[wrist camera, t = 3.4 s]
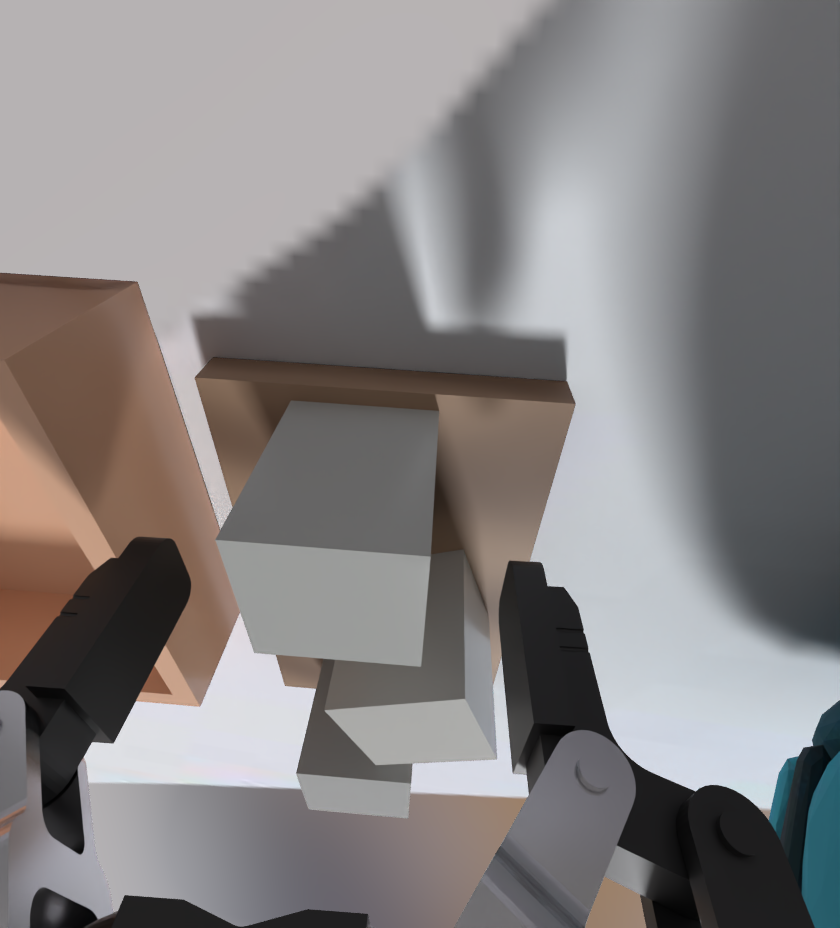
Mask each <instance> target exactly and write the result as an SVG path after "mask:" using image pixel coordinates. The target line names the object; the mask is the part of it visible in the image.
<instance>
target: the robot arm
mask: <svg viewBox="0 0 840 928" xmlns="http://www.w3.org/2000/svg"><path fill="white" fill-rule="evenodd" d="M190 593H191V579H190V576H189V573H188V571H187V569H186V566H185V564H184V562H183V559H182V557H181V555H180V552H179V550H178V547H177V545H176V543H175V541H174V540H173V539H170V538H157V537H136V538H134V539H133V540H132V541H131V542H130V543H129V544H128V545H127V547H126V548H125V550H124V551H123V552H122V554H121V555H120V556H119V558H110V559H108V560H107V561H106V562H105V563H103V564H102V565H101V566H99V567H98V568H97V569H95V570H94V571H93V572H92V573H90V574H89V575H88V576H87V578H86V579H85V580H84V581H83V583H82V584H81V585H80V587H79V588H78V589H77V591H76V592H75V593H74V594H73V599H70V600H69V601H68V602H67V604H66V605H65V606H64V607H63V609H62V610H61V611H60V616H57V617H56V618H55V619H54V621H53V622H52V623H51V624H50V626H49V627H48V628H47V630H46V631H45V632H44V634H43V635H42V636H41V637H40V639H39V640H38V641H37V643H36V644H35V645H34V647H33V648H32V649H31V650H30V652H29V653H28V654H27V656H26V657H25V658H24V660H23V661H22V662H21V663H20V665H19V666H18V667H17V669H16V670H15V671H14V673H13V674H12V675H11V676H10V678H9V679H8V680H7V681H6V683H5V684H4V685H3V686H2V687H1V688H0V928H374V927H372V926H370V922H369V917H368V914H361V913H348V912H335V911H321V910H309V909H308V910H304V911H300V912H297V913H293V914H289V915H286V916H282V917H278V918H275V919H271V920H268V921H264V922H260V923H257V924H253V925H249V926H244V927H238V926H235V925H233V924H231V923H229V922H227V921H225V920H223V919H221V918H219V917H217V916H215V915H213V914H211V913H209V912H207V911H205V910H203V909H201V908H199V907H197V906H195V905H193V904H191V903H189V902H187V901H185V900H180V899H179V900H178V899H167V898H153V897H140V896H128V895H125V896H124V898H123V901H122V903H121V905H120V908H119V910H118V911H117V912H114V913H113V905H112V898H111V892H110V888H109V884H108V881H107V878H106V875H105V873H104V871H103V869H102V868H101V866H100V864H99V861H98V858H97V854H96V849H95V840H94V831H93V822H92V813H91V804H90V795H89V785H88V776H87V767H86V762H85V759H84V758H83V757H84V755H85V754H86V752H87V750H88V748H89V746H90V745H91V743H92V742H100V743H114V741H115V740H116V738H117V736H118V734H119V732H120V730H121V728H122V726H123V724H124V722H125V721H126V719H127V717H128V715H129V713H130V711H131V709H132V707H133V705H134V703H135V702H136V700H137V698H138V696H139V694H140V692H141V690H142V688H143V686H144V684H145V683H146V681H147V679H148V677H149V675H150V673H151V671H152V669H153V667H154V665H155V664H156V662H157V660H158V658H159V656H160V654H161V652H162V650H163V648H164V646H165V645H166V643H167V641H168V639H169V637H170V635H171V633H172V631H173V629H174V628H175V626H176V624H177V622H178V620H179V618H180V616H181V614H182V612H183V610H184V609H185V607H186V605H187V603H188V600H189V597H190ZM583 630H584V629H583V625H582V621H581V617H580V613H579V609H578V607H577V605H576V604H575V602H574V601H573V599H572V598H571V597H570V595H569V594H568V592H567V591H566V589H565V588H564V587H551V586H547V582H546V577H545V572H544V568H543V565H542V563H540V562H527V561H509V562H508V565H507V569H506V573H505V578H504V582H503V587H502V591H501V595H500V600H499V632H500V642H501V653H502V664H503V674H504V685H505V696H506V706H507V717H508V727H509V738H510V749H511V759H512V770H513V774H524V775H527V781H528V790H529V796H528V798H527V799H526V801H525V803H524V805H523V807H522V808H521V810H520V812H519V814H518V816H517V817H516V819H515V821H514V823H513V825H512V826H511V828H510V830H509V832H508V833H507V835H506V837H505V839H504V841H503V842H502V844H501V846H500V847H499V849H498V851H497V852H496V854H495V856H494V857H493V859H492V861H491V863H490V864H489V866H488V868H487V870H486V871H485V873H484V875H483V877H482V878H481V880H480V882H479V884H478V886H477V887H476V889H475V891H474V893H473V894H472V896H471V898H470V900H469V902H468V903H467V905H466V907H465V909H464V911H463V912H462V914H461V916H460V918H459V919H458V922H457V923H456V925H455V927H454V928H585V925H586V922H587V919H588V916H589V913H590V911H591V908H592V906H593V903H594V901H595V898H596V896H597V893H598V891H599V888H600V886H601V883H602V881H603V878H604V876H605V877H607V878H609V879H611V880H613V881H615V882H617V883H619V884H621V885H623V886H625V887H627V888H628V889H631V890H633V891H635V892H637V893H638V894H640V897H641V902H642V907H643V912H644V917H645V922H646V927H647V928H815V926H814V924H813V921H812V919H811V916H810V914H809V911H808V909H807V906H806V904H805V901H804V899H803V897H802V894H801V892H800V889H799V887H798V884H797V882H796V879H795V877H794V874H793V872H792V869H791V867H790V864H789V862H788V859H787V857H786V854H785V852H784V849H783V847H782V844H781V842H780V839H779V837H778V835H777V833H776V831H775V830H774V828H773V826H772V825H771V823H770V822H769V820H768V819H767V818H766V816H765V815H764V814H763V813H762V812H761V811H760V810H759V809H758V807H757V806H755V805H754V804H753V803H752V802H751V801H750V800H748V799H747V798H746V797H744V796H743V795H741V794H740V793H738V792H736V791H734V790H732V789H729V788H727V787H723V786H719V785H709V786H704V787H702V788H700V789H698V790H697V791H696V792H695V791H693V790H691V789H688V788H686V787H684V786H681V785H679V784H677V783H674V782H672V781H670V780H667V779H665V778H663V777H660V776H658V775H656V774H653V773H651V772H649V771H647V770H645V769H644V768H642V767H641V766H639V765H638V764H636V763H635V762H634V761H633V760H631V759H630V758H629V757H628V756H627V755H626V754H625V753H624V752H623V750H622V749H621V748H620V747H619V745H618V744H617V742H616V741H615V739H614V737H613V735H612V733H611V731H610V729H609V726H608V723H607V719H606V715H605V711H604V707H603V704H602V700H601V696H600V692H599V688H598V684H597V680H596V676H595V672H594V668H593V664H592V660H591V656H590V653H589V652H588V645H587V641H586V637H585V634H584V633H583Z"/></svg>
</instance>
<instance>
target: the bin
mask: <svg viewBox="0 0 840 928" xmlns="http://www.w3.org/2000/svg"><path fill="white" fill-rule="evenodd" d="M219 532H220V529H219V526H218V523H217V520H216V517H215V514H214V511H213V508H212V505H211V502H210V499H209V496H208V493H207V490H206V487H205V484H204V481H203V478H202V475H201V472H200V469H199V466H198V463H197V460H196V457H195V454H194V451H193V448H192V445H191V442H190V439H189V436H188V433H187V430H186V426H185V423H184V420H183V417H182V414H181V411H180V408H179V405H178V402H177V399H176V396H175V393H174V390H173V387H172V384H171V381H170V378H169V375H168V372H167V369H166V366H165V363H164V360H163V357H162V354H161V351H160V348H159V345H158V342H157V339H156V336H155V333H154V330H153V327H152V324H151V321H150V318H149V315H148V312H147V309H146V306H145V303H144V300H143V297H142V294H141V291H140V288H139V285H138V282H133V281H118V280H103V279H88V278H87V279H86V278H72V277H71V278H70V277H56V276H41V275H26V274H10V273H0V688H1V687H2V686H3V685H4V684H5V683H6V681H7V680H8V679H9V678H10V676H11V675H12V674H13V673H14V671H15V670H16V669H17V667H18V666H19V665H20V663H21V662H22V661H23V660H24V658H25V657H26V656H27V654H28V653H29V652H30V650H31V649H32V648H33V647H34V645H35V644H36V643H37V641H38V640H39V639H40V637H41V636H42V635H43V634H44V632H45V631H46V630H47V628H48V627H49V626H50V624H51V623H52V622H53V621H54V619H55V618H56V617H57V616H60V611H61V610H62V609H63V607H64V606H65V605H66V604H67V602H68V601H69V600H70V599H73V594H74V593H75V592H76V591H77V589H78V588H79V587H80V585H81V584H82V583H83V581H84V580H85V579H86V578H87V576H88V575H89V574H90V573H92V572H93V571H94V570H95V569H97V568H98V567H99V566H101V565H102V564H103V563H105V562H106V561H107V560H108V559H110V558H119V556H120V555H121V554H122V552H123V551H124V550H125V548H126V547H127V545H128V544H129V543H130V542H131V541H132V540H133V539H134V538H136V537H157V538H170V539H173V540H174V541H175V543H176V545H177V547H178V550H179V552H180V555H181V557H182V559H183V562H184V564H185V566H186V569H187V571H188V573H189V576H190V579H191V593H190V597H189V600H188V603H187V605H186V607H185V609H184V610H183V612H182V614H181V616H180V618H179V620H178V622H177V624H176V626H175V628H174V629H173V631H172V633H171V635H170V637H169V639H168V641H167V643H166V645H165V646H164V648H163V650H162V652H161V654H160V656H159V658H158V660H157V662H156V664H155V665H154V667H153V669H152V671H151V673H150V675H149V677H148V679H147V681H146V683H145V684H144V686H143V688H142V690H141V692H140V694H139V696H138V698H137V700H136V701H141V702H152V703H164V704H176V705H187V706H199V707H200V706H201V704H202V701H203V699H204V696H205V694H206V692H207V689H208V687H209V685H210V682H211V680H212V677H213V675H214V673H215V670H216V668H217V666H218V663H219V661H220V658H221V656H222V654H223V651H224V649H225V647H226V644H227V642H228V639H229V637H230V635H231V632H232V630H233V627H234V625H235V623H236V620H237V618H238V616H239V613H240V610H239V607H238V604H237V601H236V598H235V595H234V593H233V590H232V587H231V584H230V581H229V578H228V575H227V572H226V569H225V567H224V564H223V561H222V558H221V555H220V552H219V549H218V546H217V544H216V541H215V539H216V538H217V536H218V534H219Z"/></svg>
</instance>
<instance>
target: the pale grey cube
mask: <svg viewBox="0 0 840 928" xmlns="http://www.w3.org/2000/svg"><path fill="white" fill-rule="evenodd" d="M324 711H325V712H326V713H327V714H328V715H329V716H330V717H331V718H332V719H333V720H334V721H335V722H336V723H337V724H338V725H339V727H340V728H341V729H342V730H343V731H344V732H345V733H346V734H347V735H348V736H349V737H350V738H351V739H352V740H353V741H354V742H355V744H356V745H357V746H358V747H359V748H360V749H361V750H362V751H363V752H364V753H365V754H366V755H367V756H368V757H369V758H370V760H371V761H372V762H373V763H374V764H375V765H390V764H411V763H432V762H453V761H474V760H495V759H497V748H496V731H495V714H494V697H493V680H492V663H491V646H490V629H489V615H488V613H487V610H486V607H485V605H484V602H483V599H482V597H481V594H480V592H479V589H478V586H477V584H476V581H475V578H474V576H473V573H472V571H471V568H470V565H469V563H468V560H467V557H466V555H465V552H464V549H462V550H456V551H449V552H443V553H437V554H431V559H430V570H429V582H428V593H427V605H426V616H425V628H424V639H423V651H422V662H421V667H418V666H406V665H394V664H382V663H370V662H358V661H346V660H335V663H334V667H333V672H332V677H331V681H330V686H329V690H328V695H327V700H326V704H325V709H324Z"/></svg>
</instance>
